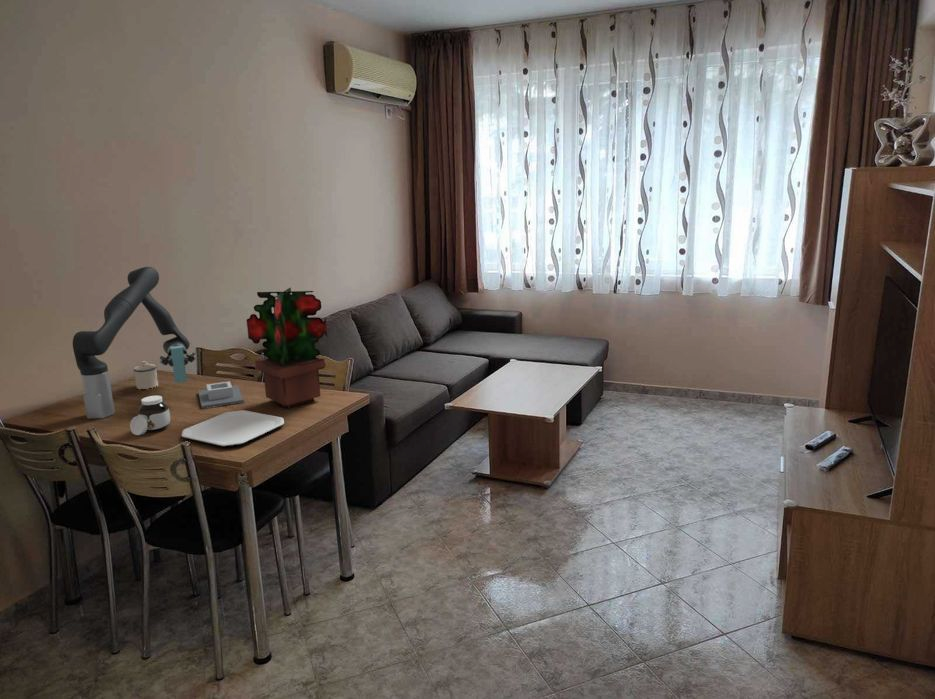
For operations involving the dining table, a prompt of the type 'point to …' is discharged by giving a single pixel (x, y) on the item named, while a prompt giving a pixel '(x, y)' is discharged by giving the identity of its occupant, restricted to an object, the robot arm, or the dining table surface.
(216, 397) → the socket holder
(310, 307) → the potted plant
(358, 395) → the dining table surface
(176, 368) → the teal peg
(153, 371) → the teacup with lid
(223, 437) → the plate
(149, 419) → the spread jar
